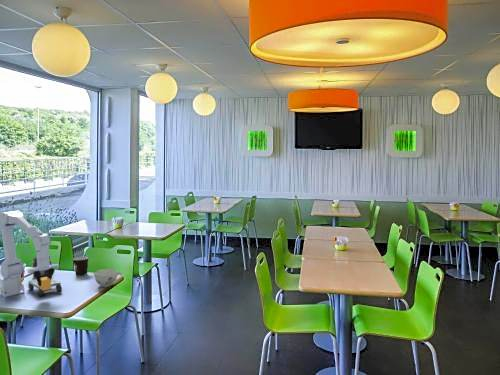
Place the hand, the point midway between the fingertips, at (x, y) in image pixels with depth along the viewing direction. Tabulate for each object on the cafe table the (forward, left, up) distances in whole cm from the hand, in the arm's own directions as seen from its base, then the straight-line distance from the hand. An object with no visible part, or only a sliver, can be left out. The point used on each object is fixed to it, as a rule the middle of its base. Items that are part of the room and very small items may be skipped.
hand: (44, 284), depth 218 cm
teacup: (+33, -1, -8) cm, 34 cm away
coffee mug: (+31, +31, -8) cm, 45 cm away
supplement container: (+13, +45, -8) cm, 47 cm away
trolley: (+4, +14, -8) cm, 16 cm away
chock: (0, 0, -2) cm, 2 cm away
